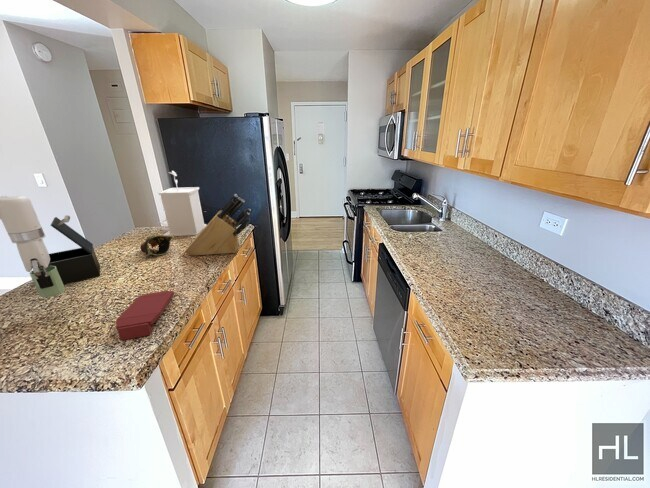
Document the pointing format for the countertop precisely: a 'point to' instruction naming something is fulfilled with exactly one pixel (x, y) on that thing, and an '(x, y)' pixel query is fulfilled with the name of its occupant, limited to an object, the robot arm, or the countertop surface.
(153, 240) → the pot
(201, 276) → the countertop surface
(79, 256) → the box
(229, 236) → the knife block
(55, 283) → the cup
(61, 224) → the lid
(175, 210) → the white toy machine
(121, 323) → the carton
